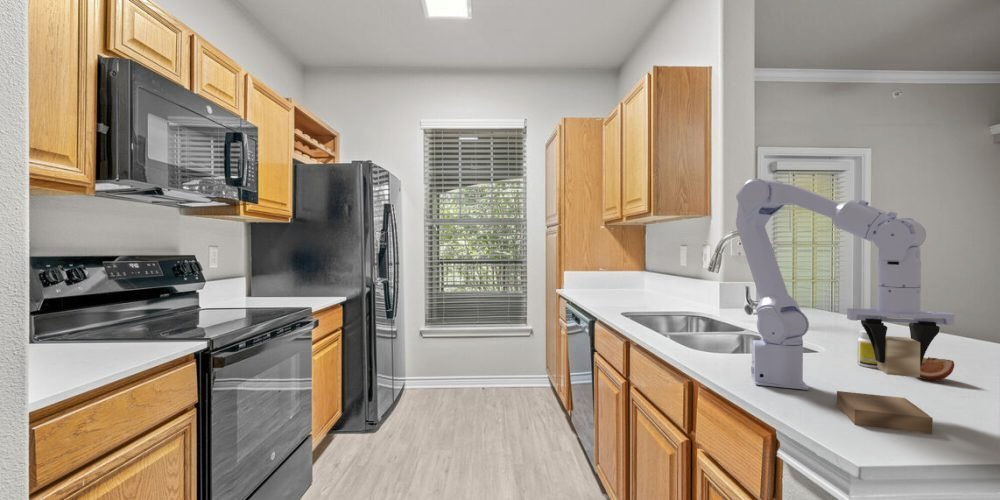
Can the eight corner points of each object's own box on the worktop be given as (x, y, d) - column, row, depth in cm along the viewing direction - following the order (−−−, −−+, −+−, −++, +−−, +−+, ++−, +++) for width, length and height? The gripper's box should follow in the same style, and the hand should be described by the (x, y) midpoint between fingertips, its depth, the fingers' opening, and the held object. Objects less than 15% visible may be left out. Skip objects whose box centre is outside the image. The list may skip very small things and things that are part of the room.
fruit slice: (897, 376, 102) (898, 354, 102) (908, 372, 106) (908, 350, 106) (949, 386, 95) (949, 362, 95) (958, 381, 99) (958, 358, 99)
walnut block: (854, 427, 76) (854, 409, 76) (836, 406, 85) (836, 390, 85) (932, 437, 72) (932, 418, 72) (904, 414, 81) (905, 397, 81)
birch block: (887, 374, 80) (887, 340, 80) (877, 368, 84) (877, 335, 84) (919, 377, 78) (920, 342, 78) (908, 370, 82) (908, 337, 82)
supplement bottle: (887, 369, 108) (887, 333, 108) (864, 368, 109) (864, 333, 109) (874, 363, 113) (875, 329, 113) (853, 362, 114) (853, 329, 114)
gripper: (856, 287, 80) (855, 364, 80) (965, 290, 74) (964, 373, 75) (843, 283, 86) (843, 355, 87) (942, 286, 81) (941, 362, 81)
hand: (897, 362), depth 81 cm, fingers closed on birch block, 4 cm apart
